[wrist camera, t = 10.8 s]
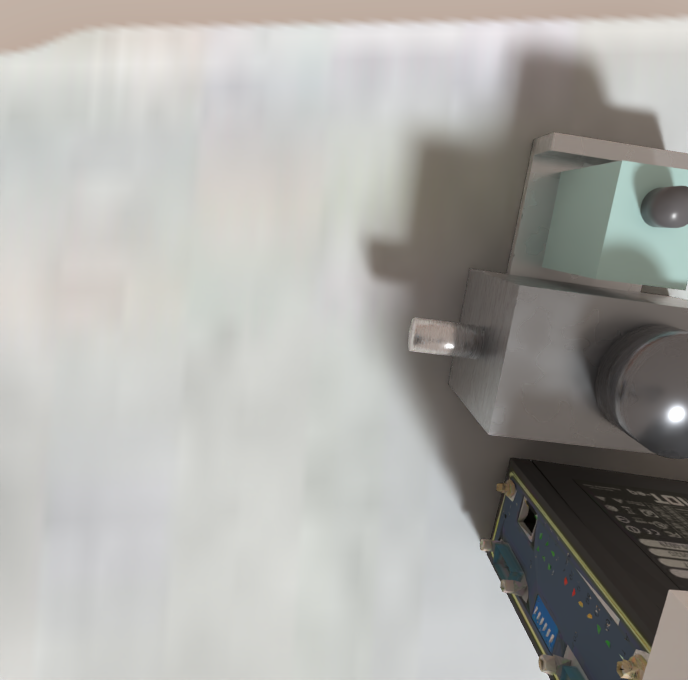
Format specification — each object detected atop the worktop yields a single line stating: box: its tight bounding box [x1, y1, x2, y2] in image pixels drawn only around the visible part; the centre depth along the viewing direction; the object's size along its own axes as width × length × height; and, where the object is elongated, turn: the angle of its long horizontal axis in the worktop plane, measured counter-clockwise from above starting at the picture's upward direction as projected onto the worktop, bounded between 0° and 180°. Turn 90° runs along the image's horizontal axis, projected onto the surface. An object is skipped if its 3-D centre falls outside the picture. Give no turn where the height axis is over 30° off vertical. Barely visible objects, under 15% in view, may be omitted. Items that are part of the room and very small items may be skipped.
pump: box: [542, 160, 688, 290], centre depth 31 cm, size 5×6×8 cm
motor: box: [408, 132, 688, 459], centre depth 30 cm, size 18×16×12 cm
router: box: [480, 458, 688, 680], centre depth 31 cm, size 8×18×20 cm, turn 81°
